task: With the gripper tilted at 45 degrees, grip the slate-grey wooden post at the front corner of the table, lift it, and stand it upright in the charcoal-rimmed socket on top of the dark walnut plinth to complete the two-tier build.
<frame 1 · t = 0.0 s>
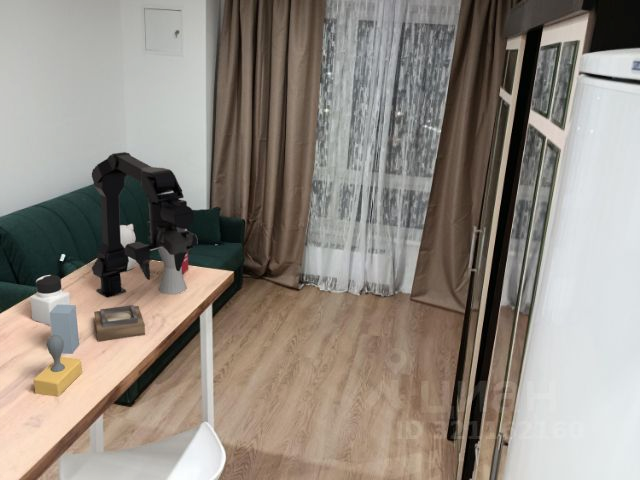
hand: (163, 275, 158), 15 cm above the table, tool pointing down, fingers open, 9 cm apart
rubber stamp: (59, 383, 135), on the table
red and white box: (176, 275, 195), on the table
slate post: (66, 348, 148), on the table
walnut plinth: (119, 328, 159), on the table
cat figurine: (122, 269, 197), on the table
lava lamp: (172, 289, 185), on the table
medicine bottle: (52, 318, 163), on the table
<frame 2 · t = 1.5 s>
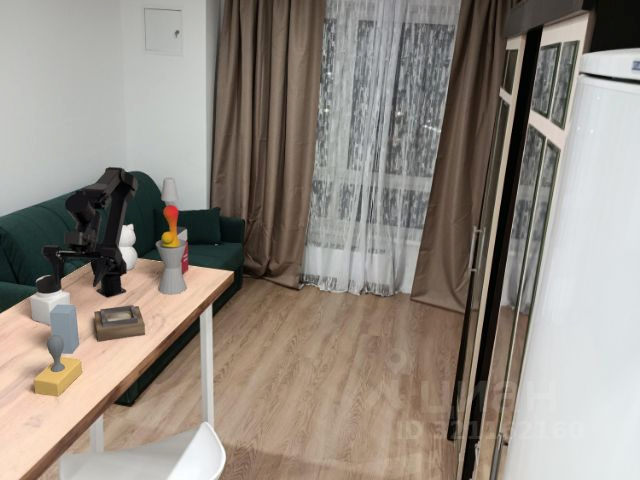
hand: (75, 286, 151), 13 cm above the table, tool tilted 45°, fingers open, 9 cm apart
nothing on the table moved.
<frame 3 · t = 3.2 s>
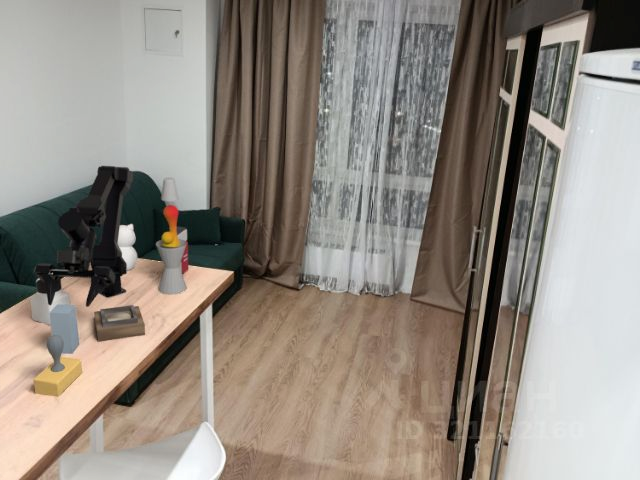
hand: (68, 305, 148), 10 cm above the table, tool tilted 45°, fingers open, 9 cm apart
nothing on the table moved.
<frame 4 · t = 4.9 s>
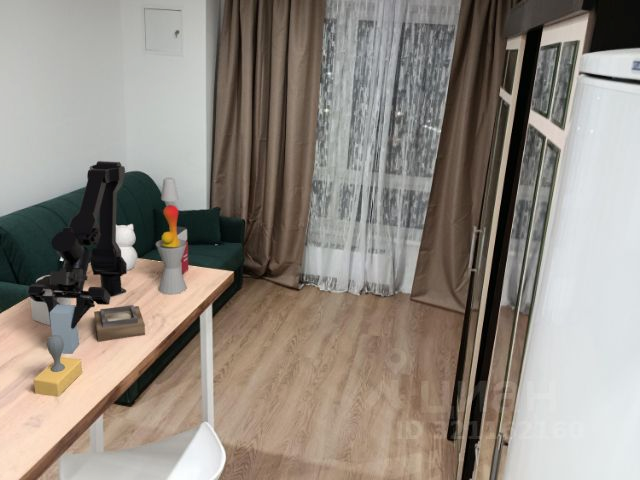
hand: (62, 327, 145), 7 cm above the table, tool tilted 45°, fingers closed on slate post, 4 cm apart
slate post: (66, 348, 148), on the table, touching gripper
everything else where it was.
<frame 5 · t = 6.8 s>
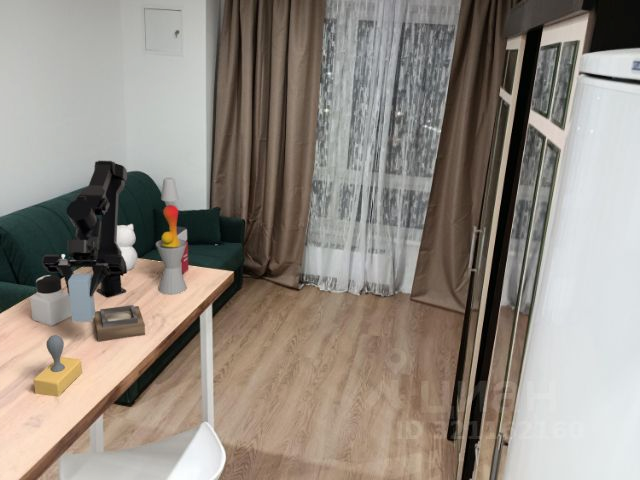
hand: (80, 296, 146), 14 cm above the table, tool tilted 45°, fingers closed on slate post, 4 cm apart
slate post: (83, 317, 149), point 7 cm above the table, touching gripper
everything else where it was.
when the fingers open (11 cm above the table, at t = 8.6 s): slate post drops 1 cm, resting on walnut plinth.
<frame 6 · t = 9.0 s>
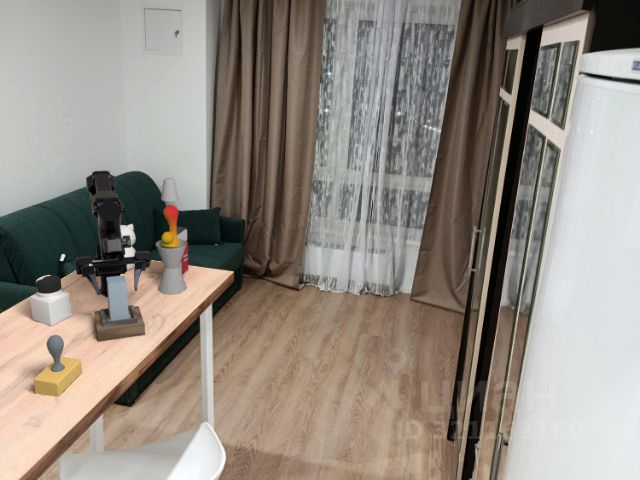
hand: (117, 292, 154), 11 cm above the table, tool tilted 45°, fingers open, 9 cm apart
slate post: (119, 317, 158), point 3 cm above the table, touching walnut plinth
everything else where it was.
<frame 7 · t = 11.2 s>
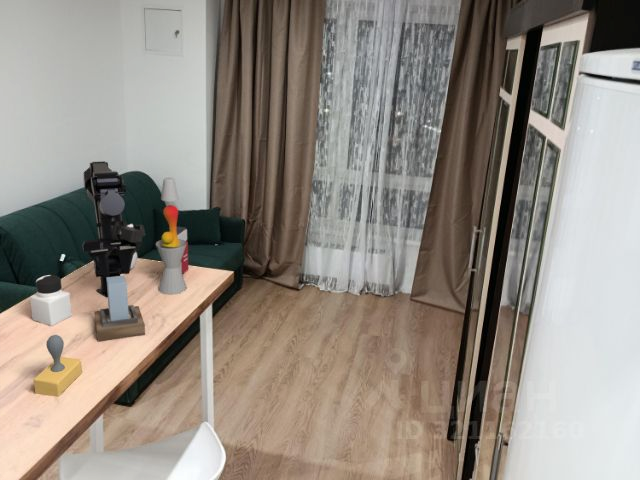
hand: (117, 275, 161), 12 cm above the table, tool tilted 20°, fingers open, 9 cm apart
nothing on the table moved.
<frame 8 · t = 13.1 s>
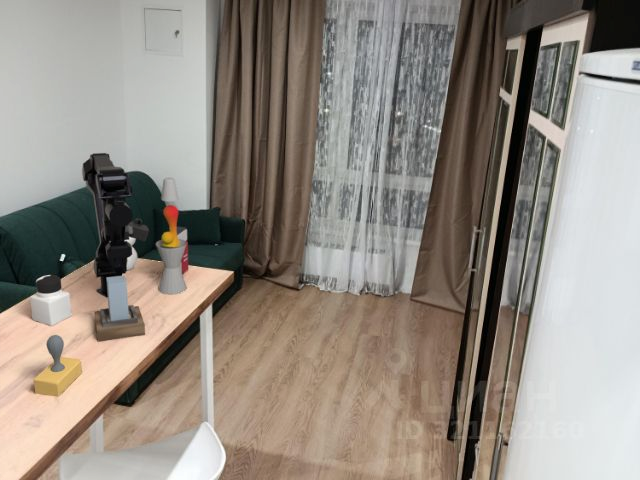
hand: (118, 269, 164), 13 cm above the table, tool pointing down, fingers open, 9 cm apart
nothing on the table moved.
at the end: slate post 0.0 cm off-centre on the walnut plinth, point 3.1 cm above the walnut plinth's base; slate post tilted 0°; the gripper is holding nothing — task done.
